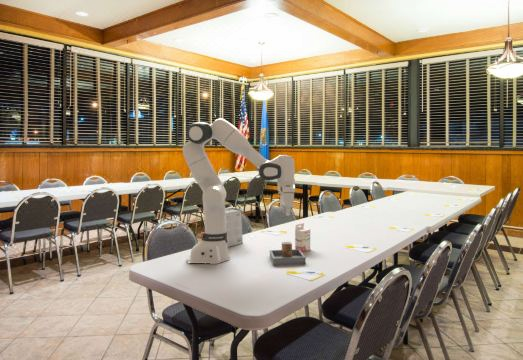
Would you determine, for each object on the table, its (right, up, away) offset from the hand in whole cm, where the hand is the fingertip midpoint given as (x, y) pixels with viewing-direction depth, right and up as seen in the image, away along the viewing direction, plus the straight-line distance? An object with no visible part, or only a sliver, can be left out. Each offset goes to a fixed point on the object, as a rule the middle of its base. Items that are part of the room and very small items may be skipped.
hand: (286, 214), depth 204 cm
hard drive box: (-32, -22, +38) cm, 54 cm away
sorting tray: (0, -24, +2) cm, 24 cm away
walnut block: (0, -23, +2) cm, 23 cm away
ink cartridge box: (+11, -22, +22) cm, 33 cm away
